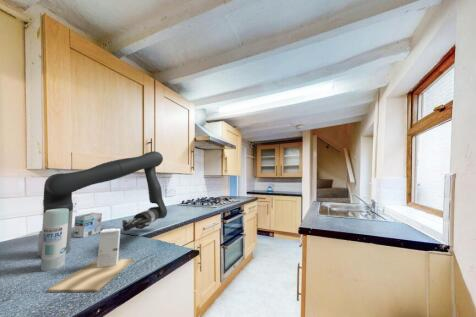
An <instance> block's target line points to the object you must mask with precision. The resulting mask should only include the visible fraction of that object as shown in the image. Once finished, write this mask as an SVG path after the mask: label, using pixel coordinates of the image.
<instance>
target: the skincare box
mask: <svg viewBox="0 0 476 317" xmlns="http://www.w3.org/2000/svg"><path fill="white" fill-rule="evenodd" d="M120 239H121V228H120V227H117V228H114V227H113V228H105V229H104V228H103V229H101V232H100V233H99V239H98V240H99V241H98V253H97V259H98V262H97V268H99V267H106V266H113V265H116V264H117V262H118V259H119V255H120Z"/></svg>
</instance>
